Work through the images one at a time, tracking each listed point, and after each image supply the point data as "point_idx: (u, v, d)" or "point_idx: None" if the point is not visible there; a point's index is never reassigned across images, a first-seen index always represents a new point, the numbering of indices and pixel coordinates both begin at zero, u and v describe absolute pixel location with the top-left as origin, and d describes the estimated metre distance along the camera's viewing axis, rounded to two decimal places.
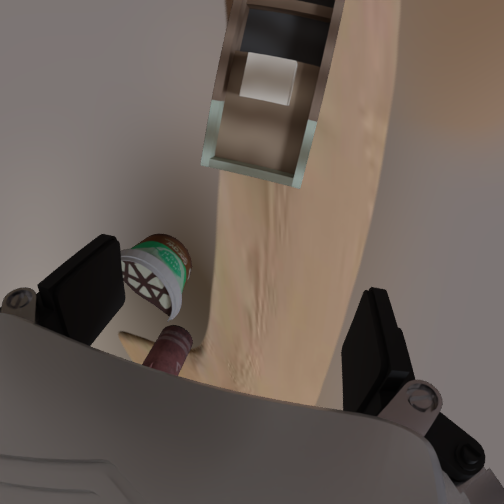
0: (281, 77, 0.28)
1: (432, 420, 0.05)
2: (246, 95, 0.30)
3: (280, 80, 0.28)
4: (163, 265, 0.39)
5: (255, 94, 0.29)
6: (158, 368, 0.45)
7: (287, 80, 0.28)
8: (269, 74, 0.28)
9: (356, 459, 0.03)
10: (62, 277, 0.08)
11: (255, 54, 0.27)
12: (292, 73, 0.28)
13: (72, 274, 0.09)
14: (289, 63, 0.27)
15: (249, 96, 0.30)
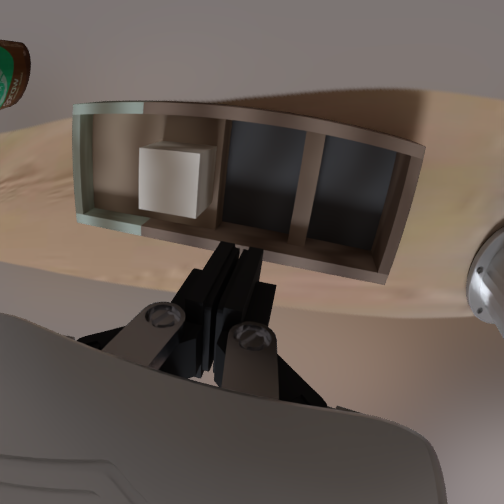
0: (170, 200, 0.23)
1: (275, 352, 0.07)
2: (141, 157, 0.22)
3: (167, 199, 0.23)
4: None
5: (143, 168, 0.22)
6: None
7: (168, 208, 0.24)
8: (171, 184, 0.23)
9: (356, 459, 0.03)
10: (210, 288, 0.09)
11: (197, 163, 0.22)
12: (178, 214, 0.24)
13: (216, 285, 0.09)
14: (191, 209, 0.23)
15: (140, 161, 0.22)
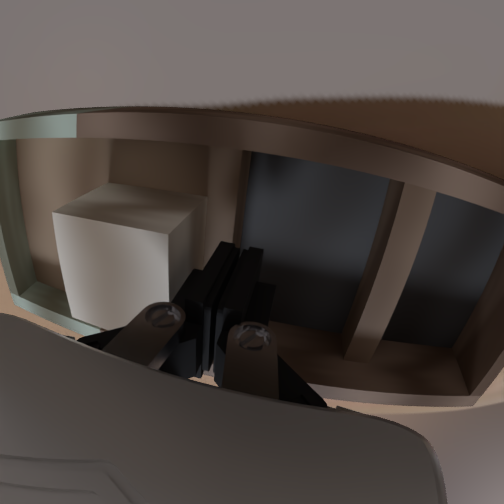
0: (120, 315, 0.11)
1: (275, 352, 0.07)
2: (57, 230, 0.10)
3: (113, 311, 0.11)
4: None
5: (65, 253, 0.11)
6: None
7: (119, 326, 0.12)
8: (118, 288, 0.11)
9: (356, 459, 0.03)
10: (210, 288, 0.09)
11: (164, 255, 0.10)
12: None
13: (216, 285, 0.09)
14: None
15: (57, 238, 0.10)
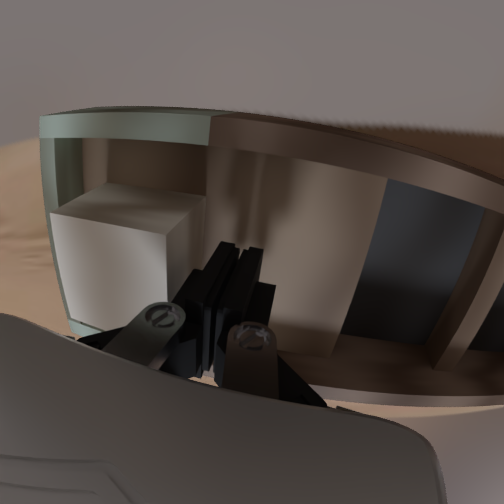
0: (118, 316, 0.11)
1: (275, 352, 0.07)
2: (55, 231, 0.10)
3: (112, 312, 0.11)
4: None
5: (63, 253, 0.10)
6: None
7: (117, 327, 0.12)
8: (116, 289, 0.11)
9: (356, 459, 0.03)
10: (210, 288, 0.09)
11: (162, 255, 0.10)
12: None
13: (216, 285, 0.09)
14: None
15: (55, 239, 0.10)
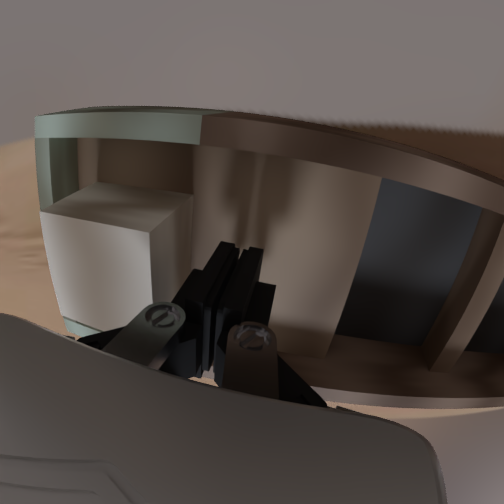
0: (106, 313, 0.11)
1: (275, 352, 0.07)
2: (45, 229, 0.10)
3: (100, 309, 0.11)
4: None
5: (53, 251, 0.10)
6: None
7: (106, 324, 0.12)
8: (103, 286, 0.11)
9: (356, 459, 0.03)
10: (210, 288, 0.09)
11: (146, 253, 0.10)
12: None
13: (216, 285, 0.09)
14: None
15: (45, 237, 0.10)
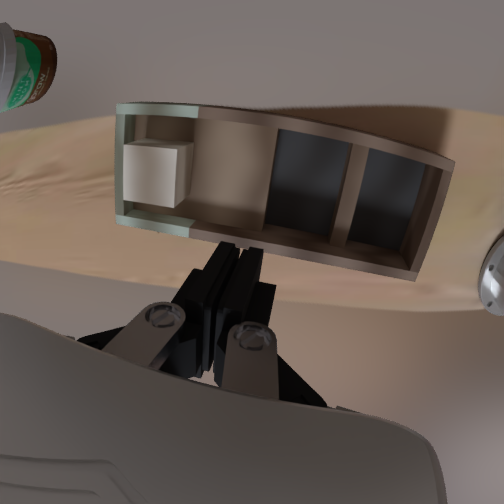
0: (151, 192, 0.25)
1: (275, 352, 0.07)
2: (125, 153, 0.24)
3: (148, 190, 0.25)
4: (6, 95, 0.21)
5: (127, 163, 0.24)
6: None
7: (149, 198, 0.26)
8: (152, 177, 0.25)
9: (356, 459, 0.03)
10: (210, 288, 0.09)
11: (174, 158, 0.24)
12: (158, 204, 0.26)
13: (216, 285, 0.09)
14: (169, 200, 0.25)
15: (124, 157, 0.24)
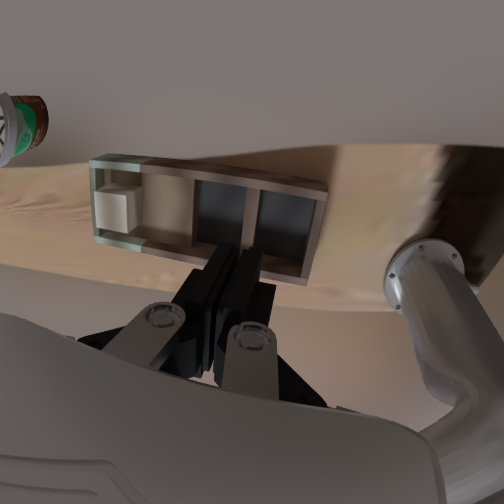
0: (113, 222, 0.37)
1: (275, 352, 0.07)
2: (95, 196, 0.36)
3: (111, 221, 0.37)
4: (12, 149, 0.33)
5: (97, 203, 0.36)
6: None
7: (112, 227, 0.37)
8: (113, 213, 0.36)
9: (356, 459, 0.03)
10: (210, 288, 0.09)
11: (125, 201, 0.35)
12: (118, 230, 0.37)
13: (216, 284, 0.09)
14: (124, 228, 0.37)
15: (95, 199, 0.36)
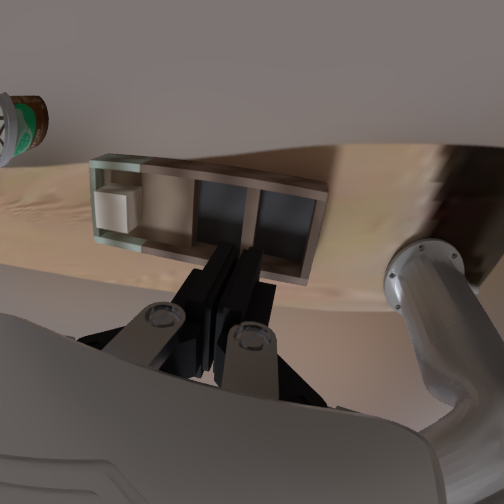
0: (113, 222, 0.37)
1: (275, 352, 0.07)
2: (95, 196, 0.36)
3: (111, 221, 0.37)
4: (12, 149, 0.33)
5: (97, 203, 0.36)
6: None
7: (112, 227, 0.37)
8: (113, 213, 0.36)
9: (356, 459, 0.03)
10: (210, 288, 0.09)
11: (125, 201, 0.35)
12: (118, 230, 0.37)
13: (216, 284, 0.09)
14: (124, 228, 0.37)
15: (95, 199, 0.36)
